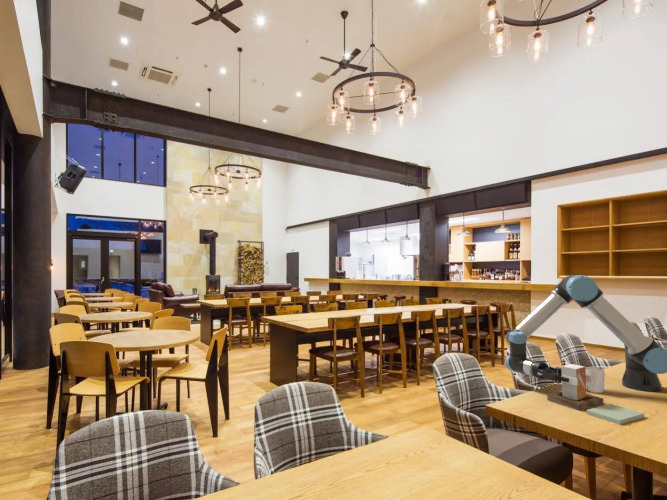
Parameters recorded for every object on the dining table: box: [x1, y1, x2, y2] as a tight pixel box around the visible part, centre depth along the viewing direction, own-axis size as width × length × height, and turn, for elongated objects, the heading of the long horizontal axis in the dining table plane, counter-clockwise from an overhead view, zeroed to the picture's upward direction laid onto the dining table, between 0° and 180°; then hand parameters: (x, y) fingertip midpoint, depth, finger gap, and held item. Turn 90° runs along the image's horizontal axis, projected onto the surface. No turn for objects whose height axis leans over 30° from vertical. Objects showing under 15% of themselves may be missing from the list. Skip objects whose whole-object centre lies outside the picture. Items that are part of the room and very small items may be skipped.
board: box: [585, 403, 645, 425], centre depth 152 cm, size 16×12×2 cm
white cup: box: [585, 366, 606, 394], centre depth 183 cm, size 8×8×10 cm
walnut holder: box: [546, 390, 604, 412], centre depth 168 cm, size 16×14×2 cm
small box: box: [560, 363, 587, 401], centre depth 168 cm, size 8×6×13 cm
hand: (584, 380), depth 164 cm, fingers closed on small box, 9 cm apart
